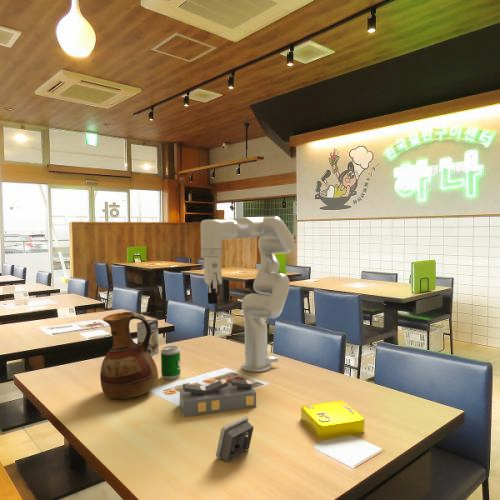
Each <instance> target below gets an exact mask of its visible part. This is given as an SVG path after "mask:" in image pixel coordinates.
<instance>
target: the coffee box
mask: <svg viewBox="0 0 500 500" xmlns="http://www.w3.org/2000/svg"><path fill="white" fill-rule="evenodd" d="M146 320H147V322H148V324H149V326H150V339H149V344H148V349H147V350H148V352H149V354H150V355H151V356H152V357H153V356H155V355H157V354H159V353H160V351H159V320H158V319H146ZM136 334H137V335H136V338H137V339H136V340H137V341H136V342H137V344H142V343H143V342H144V339H145V336H146V327H145V324H144V323H143V322H142V321H139V322H136Z"/></svg>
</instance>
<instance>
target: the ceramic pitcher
mask: <svg viewBox="0 0 500 500" xmlns="http://www.w3.org/2000/svg"><path fill="white" fill-rule="evenodd" d="M132 320H140V322H143V323H144V324H145V327H146V336H145V339H144V342H143V343H142V344H137V343H136V342H135V341H134V340H133V337H132V336H131V335H132V334H131V332H130V331H131V329H130V323H131V321H132ZM147 320H148V319H147V318H146V317H145V316H144V315H142V314H140V313H138V312H134V311H123V312H117V313H112V314H109V315H106V316H105V317H103V318H102V321H103V322H105V323H107V325H109V327H110V333H111V336H112V347H111V348H110V349H109V350H108V352H107V353H106V354H105V355H104V358H103V360H102V362H101V363H102V364H101V366H100V367H101V368H100V374H99V375H100V377H99V378H100V387H101V390H102V393H103V394H104V395H105V396H106V397H107V398H110V399H115V400H116V399H117V400H121V399H127V398H128V399H129V398H132V397H134V398H135V397H136V396H140V395H143V394H145V393H147V392H149V391H151V390H153V389H154V388H156V386H157V385H158V383H159V371H158V366H157V365H156V362H155V360H154V358H153V356H151V355H150V354H149V352H148V350H147V349H148V344H149V339H150V326H149V324H148V322H147Z"/></svg>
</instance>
